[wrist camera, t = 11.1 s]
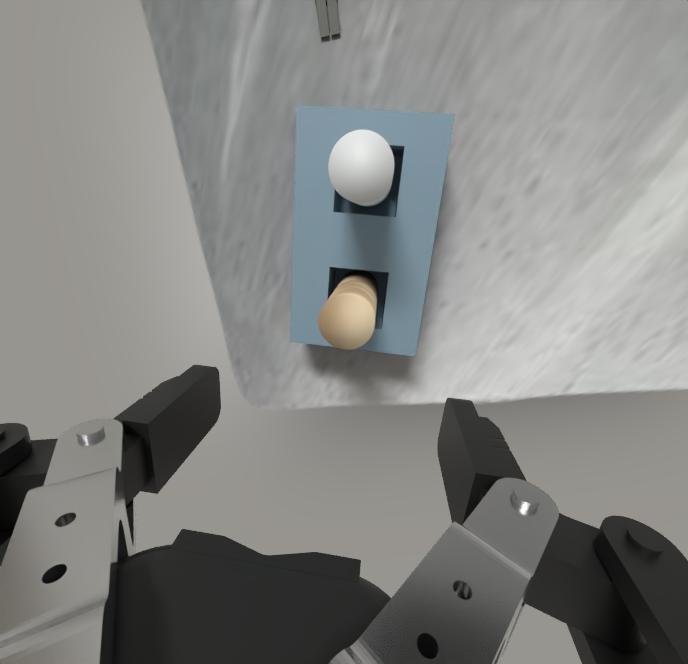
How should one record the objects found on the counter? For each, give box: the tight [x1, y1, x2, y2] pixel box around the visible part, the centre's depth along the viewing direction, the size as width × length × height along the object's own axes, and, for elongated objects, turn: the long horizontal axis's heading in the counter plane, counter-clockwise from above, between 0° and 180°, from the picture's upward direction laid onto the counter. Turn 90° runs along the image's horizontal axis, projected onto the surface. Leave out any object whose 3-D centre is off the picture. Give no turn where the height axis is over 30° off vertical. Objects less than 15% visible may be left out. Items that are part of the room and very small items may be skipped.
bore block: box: [290, 105, 455, 356], centre depth 25 cm, size 11×18×12 cm, turn 175°
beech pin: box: [318, 270, 378, 350], centre depth 26 cm, size 4×4×11 cm
